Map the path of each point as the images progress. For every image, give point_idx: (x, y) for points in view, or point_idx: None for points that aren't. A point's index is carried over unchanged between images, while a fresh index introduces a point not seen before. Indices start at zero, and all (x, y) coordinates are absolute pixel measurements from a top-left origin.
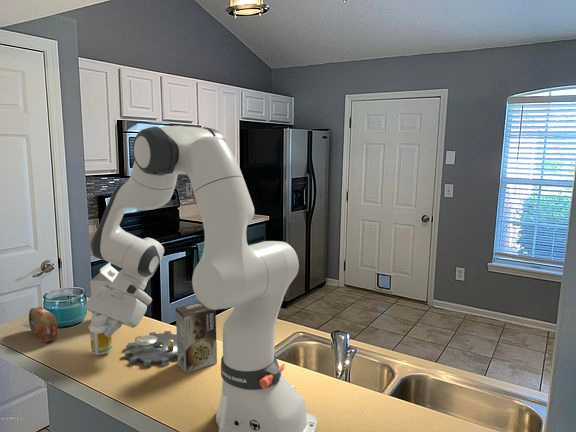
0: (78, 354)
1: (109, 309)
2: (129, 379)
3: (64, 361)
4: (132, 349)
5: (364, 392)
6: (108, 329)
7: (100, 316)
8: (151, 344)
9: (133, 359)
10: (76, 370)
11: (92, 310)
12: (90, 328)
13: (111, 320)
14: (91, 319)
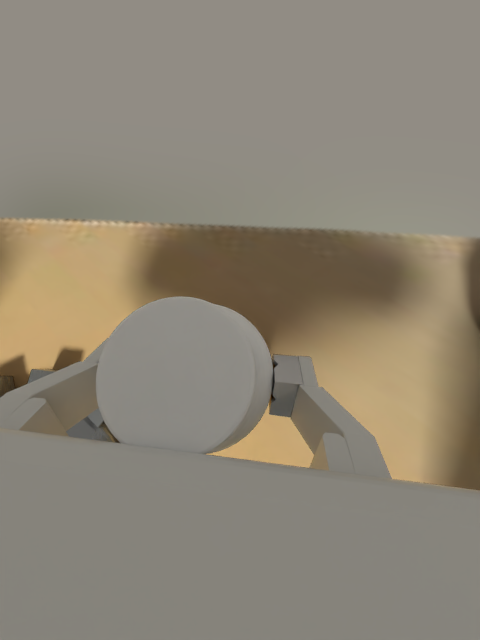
0: (296, 322)
1: (55, 565)
2: (19, 297)
3: (294, 268)
4: (90, 432)
5: None
6: (95, 361)
7: (197, 410)
8: None
9: (38, 370)
10: (209, 253)
11: (428, 485)
12: (233, 313)
13: None
14: (339, 405)
